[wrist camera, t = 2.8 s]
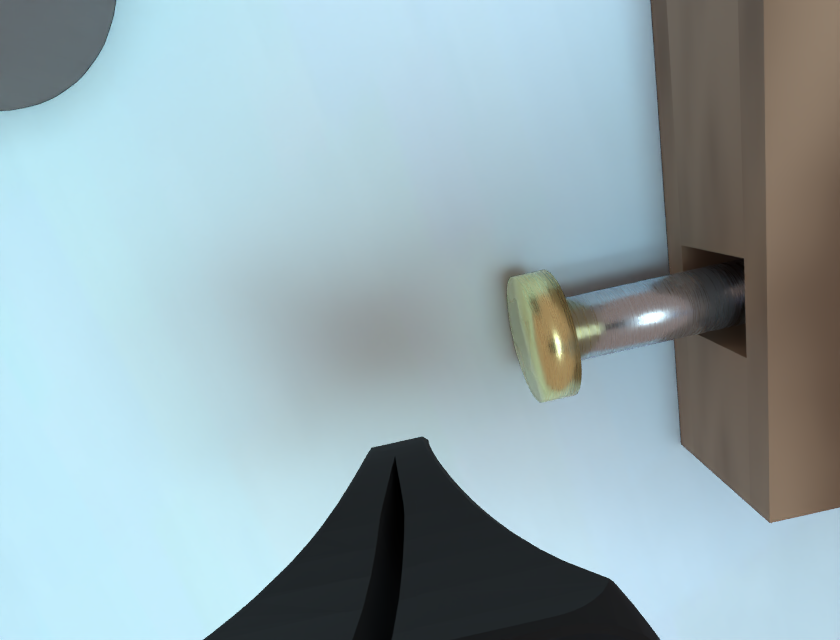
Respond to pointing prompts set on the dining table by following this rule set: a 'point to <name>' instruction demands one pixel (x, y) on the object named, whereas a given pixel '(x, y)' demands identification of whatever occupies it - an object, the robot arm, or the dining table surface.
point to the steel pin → (614, 319)
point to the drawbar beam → (758, 237)
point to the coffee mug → (48, 46)
